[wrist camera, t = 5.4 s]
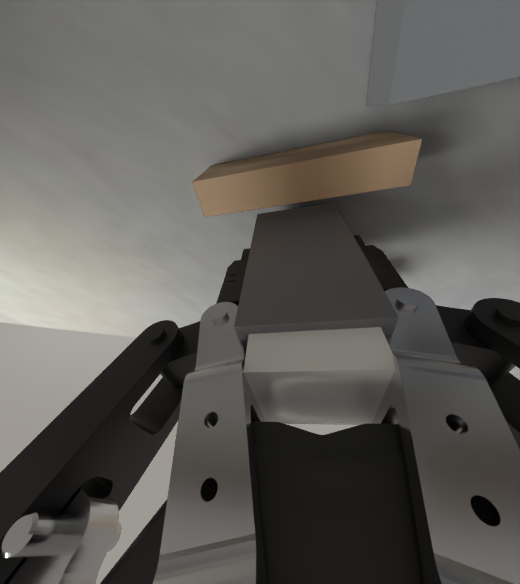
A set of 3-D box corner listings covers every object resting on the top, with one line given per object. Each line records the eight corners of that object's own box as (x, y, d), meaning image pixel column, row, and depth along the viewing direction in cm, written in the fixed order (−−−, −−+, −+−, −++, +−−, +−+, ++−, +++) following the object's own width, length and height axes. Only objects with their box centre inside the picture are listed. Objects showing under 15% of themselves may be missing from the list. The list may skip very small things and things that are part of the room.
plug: (268, 273, 13) (258, 426, 7) (257, 214, 10) (225, 365, 4) (331, 267, 12) (382, 429, 6) (335, 202, 10) (422, 359, 4)
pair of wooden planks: (246, 288, 16) (240, 319, 13) (211, 165, 11) (192, 182, 8) (363, 278, 14) (378, 311, 12) (387, 130, 9) (422, 138, 7)
